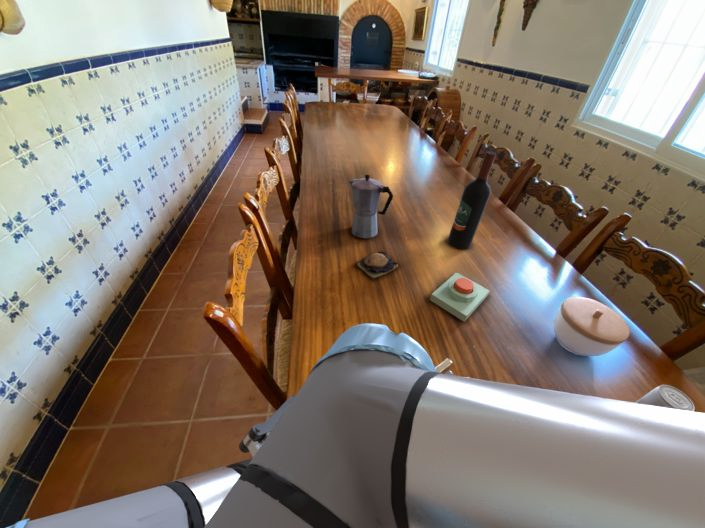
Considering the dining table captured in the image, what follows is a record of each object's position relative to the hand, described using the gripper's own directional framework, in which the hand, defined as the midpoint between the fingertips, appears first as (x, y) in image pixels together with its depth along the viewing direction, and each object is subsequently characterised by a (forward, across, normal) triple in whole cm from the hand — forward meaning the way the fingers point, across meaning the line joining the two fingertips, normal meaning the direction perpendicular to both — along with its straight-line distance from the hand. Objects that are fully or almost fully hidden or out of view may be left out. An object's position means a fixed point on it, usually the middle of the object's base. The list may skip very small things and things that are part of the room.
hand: (365, 459), depth 39 cm
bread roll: (+34, -38, +19) cm, 55 cm away
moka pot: (+40, -54, +25) cm, 72 cm away
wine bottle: (+56, -33, +41) cm, 77 cm away
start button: (+38, -16, +28) cm, 50 cm away
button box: (+41, -16, +26) cm, 51 cm away
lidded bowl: (+49, +8, +33) cm, 60 cm away
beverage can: (+40, +23, +24) cm, 52 cm away
